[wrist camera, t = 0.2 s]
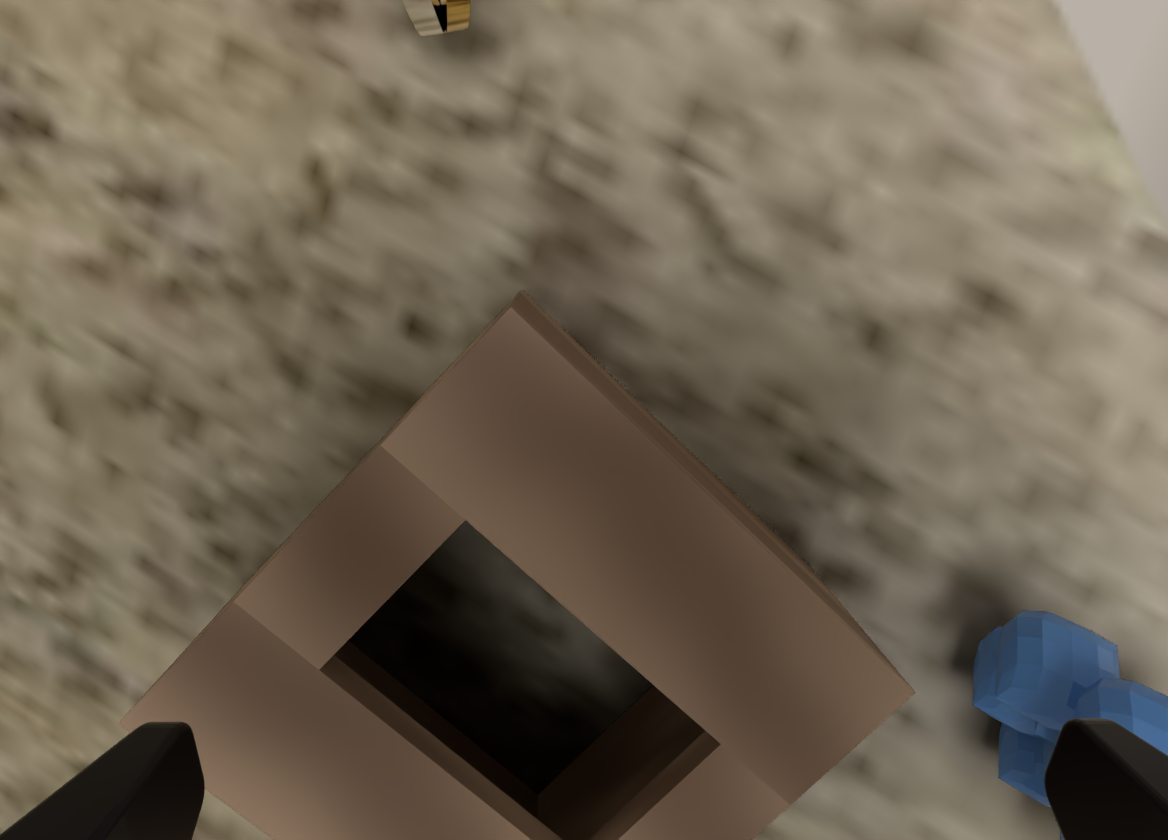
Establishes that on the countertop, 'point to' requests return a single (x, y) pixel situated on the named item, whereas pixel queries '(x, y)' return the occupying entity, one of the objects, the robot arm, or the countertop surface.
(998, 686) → the grapes
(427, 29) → the ring
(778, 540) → the box
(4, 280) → the countertop surface
